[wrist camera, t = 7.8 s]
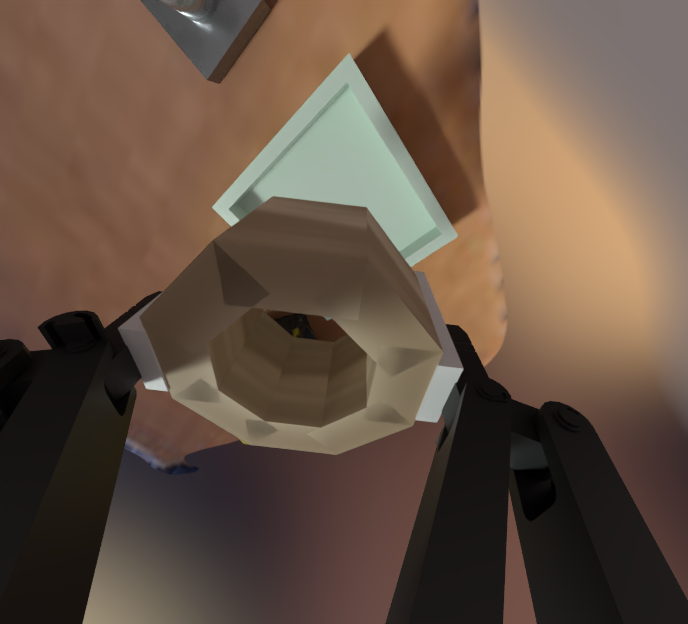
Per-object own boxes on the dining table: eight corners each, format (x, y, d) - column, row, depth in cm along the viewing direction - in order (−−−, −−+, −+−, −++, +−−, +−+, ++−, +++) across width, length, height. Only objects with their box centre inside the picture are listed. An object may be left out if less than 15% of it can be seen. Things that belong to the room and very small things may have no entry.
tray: (226, 199, 25) (211, 207, 23) (350, 62, 20) (349, 52, 17) (330, 305, 32) (327, 320, 29) (449, 225, 26) (458, 236, 23)
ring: (206, 188, 10) (102, 227, 6) (432, 214, 10) (477, 271, 6) (240, 381, 17) (199, 465, 13) (381, 398, 17) (387, 486, 13)
